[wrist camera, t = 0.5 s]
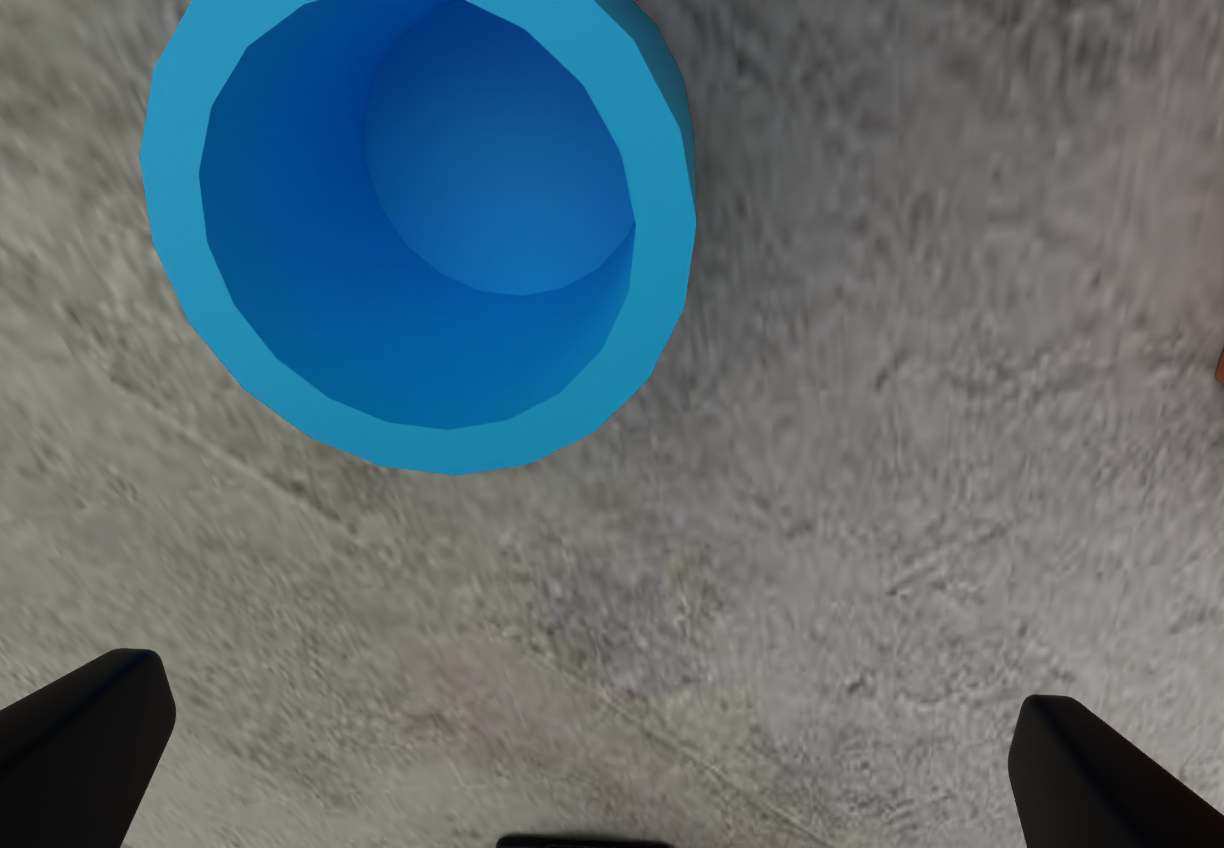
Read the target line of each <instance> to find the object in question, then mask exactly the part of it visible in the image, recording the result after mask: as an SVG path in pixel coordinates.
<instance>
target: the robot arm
mask: <svg viewBox="0 0 1224 848" xmlns="http://www.w3.org/2000/svg"><path fill="white" fill-rule="evenodd" d="M175 719H176V706H175V702H174V699H173V696H172V692H171V689H170V686H169V683H168V680H167V676H166V673H165V670H164V667H163V663H162V660H161V658H160V656H159V655H158V654H157V653H156V652H155V651H152V650H148V649H130V648H120V649H114V650H111V651H109V652H107V653H105V654H104V655H102V656H100V657H98V658H96V659H94V660H93V661H91V662H89V663H87V664H85V665H83V666H82V667H80V668H78V669H76V670H74V671H72V672H71V673H69V674H67V675H65V676H63V677H61V678H60V679H58V680H56V681H54V682H52V683H50V684H48V685H47V686H45V687H43V688H41V689H39V690H37V691H36V692H34V693H32V694H30V695H28V696H26V697H25V698H23V699H21V700H19V701H17V702H15V703H14V704H12V705H10V706H8V707H6V708H4V709H2V710H1V711H0V848H120V846H121V844H122V842H123V840H124V838H125V835H126V833H127V831H128V829H129V826H130V824H131V822H132V820H133V818H134V815H135V813H136V811H137V809H138V807H139V804H140V802H141V800H142V798H143V795H144V793H145V791H146V789H147V787H148V784H149V782H150V780H151V778H152V776H153V773H154V771H155V769H156V767H157V764H158V762H159V760H160V758H161V756H162V753H163V751H164V749H165V747H166V745H167V742H168V740H169V738H170V736H171V733H172V731H173V728H174V724H175ZM1008 771H1009V778H1010V782H1011V786H1012V790H1013V794H1014V798H1015V802H1016V806H1017V810H1018V814H1019V817H1020V821H1021V825H1022V829H1023V833H1024V837H1025V841H1026V845H1027V848H1224V815H1222V814H1221V813H1220V812H1219V811H1217V810H1216V809H1215V808H1213V807H1212V806H1211V805H1210V804H1208V803H1207V802H1206V801H1204V800H1203V799H1202V798H1201V797H1199V796H1198V795H1197V794H1196V793H1194V792H1193V791H1192V790H1190V789H1189V788H1188V787H1187V786H1185V785H1184V784H1183V783H1182V782H1180V781H1179V780H1178V779H1176V778H1175V777H1174V776H1173V775H1171V774H1170V773H1169V772H1168V771H1166V770H1165V769H1164V768H1162V767H1161V766H1160V765H1159V764H1157V763H1156V762H1155V761H1154V760H1152V759H1151V758H1150V757H1148V756H1147V755H1146V754H1145V753H1143V752H1142V751H1141V750H1140V749H1138V748H1137V747H1136V746H1134V745H1133V744H1132V743H1131V742H1129V741H1128V740H1127V739H1126V738H1124V737H1123V736H1122V735H1120V734H1119V733H1118V732H1117V731H1115V730H1114V729H1113V728H1112V727H1110V726H1109V725H1108V724H1106V723H1105V722H1104V721H1103V720H1101V719H1100V718H1099V717H1098V716H1096V715H1095V714H1094V713H1092V712H1091V711H1090V710H1089V709H1087V708H1086V707H1085V706H1083V705H1082V704H1081V703H1080V702H1078V701H1077V700H1075V699H1073V698H1071V697H1067V696H1056V695H1037V694H1035V695H1030V696H1028V697H1027V698H1026V699H1025V700H1024V702H1023V704H1022V707H1021V710H1020V714H1019V717H1018V721H1017V725H1016V728H1015V732H1014V736H1013V740H1012V743H1011V747H1010V751H1009V756H1008ZM496 848H669V847H667V846H662V845H647V844H628V843H610V842H591V841H573V840H554V839H535V838H517V837H504V838H501V839H499V841H498V842H497V845H496Z"/></svg>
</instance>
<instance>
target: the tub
mask: <svg viewBox="0 0 1224 848" xmlns="http://www.w3.org/2000/svg"><path fill="white" fill-rule="evenodd" d="M1215 378H1216V379H1218V380H1219V381H1220V382H1222V383H1223V384H1224V350H1223V353H1222V357H1221V360H1220V363H1219V366H1218V369H1217V372H1216V375H1215Z"/></svg>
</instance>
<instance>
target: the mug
mask: <svg viewBox="0 0 1224 848" xmlns="http://www.w3.org/2000/svg"><path fill="white" fill-rule="evenodd" d="M140 162H141V169H142V175H143V182H144V188H145V194H146V201H147V207H148V214H149V220H150V227H151V233H152V239H153V245H154V247H155V249H156V251H157V254H158V256H159V258H160V260H161V262H162V264H163V267H164V269H165V271H166V273H167V275H168V277H169V280H170V282H171V284H172V286H173V288H174V291H175V293H176V295H177V297H178V299H179V301H180V304H181V306H182V308H183V310H184V312H185V314H186V317H187V319H188V321H189V323H190V324H191V326H192V327H193V328H194V329H195V330H196V332H197V333H198V334H199V335H200V336H201V338H202V339H203V340H204V341H205V343H206V344H207V345H208V346H209V347H210V349H211V350H212V351H213V352H214V354H215V355H216V356H217V357H218V358H219V360H220V361H221V362H222V363H223V364H224V366H225V367H226V368H227V369H228V371H229V372H230V373H231V374H232V375H233V377H234V378H235V379H236V380H237V382H238V383H239V384H240V385H241V386H242V388H243V389H245V390H246V391H247V392H249V393H250V394H251V395H253V396H254V397H256V398H257V399H258V400H260V401H261V402H262V403H264V404H265V405H266V406H268V407H269V408H270V409H272V410H273V411H275V412H276V413H277V414H279V415H280V416H281V417H283V418H284V419H285V420H287V421H288V422H289V423H291V424H292V425H293V426H295V427H296V428H298V429H299V430H300V431H302V432H303V433H304V434H306V435H307V436H308V437H311V438H313V439H316V440H318V441H321V442H323V443H325V444H328V445H330V446H333V447H335V448H338V449H340V450H343V451H345V452H348V453H350V454H352V455H355V456H357V457H360V458H362V459H365V460H367V461H370V462H372V463H375V464H377V465H379V466H384V467H392V468H400V469H408V470H416V471H424V472H432V473H439V474H447V475H455V476H456V475H463V474H469V473H476V472H482V471H489V470H495V469H501V468H508V467H514V466H521V465H527V464H530V463H532V462H534V461H536V460H538V459H540V458H542V457H545V456H547V455H549V454H551V453H553V452H555V451H557V450H559V449H561V448H563V447H565V446H567V445H569V444H571V443H573V442H575V441H577V440H579V439H581V438H583V437H585V436H587V435H590V434H592V433H594V432H595V431H596V430H597V429H598V428H599V427H600V426H601V425H602V424H603V423H604V422H605V421H606V420H607V419H608V418H609V417H610V416H611V415H612V414H613V413H614V412H616V411H617V410H618V409H619V408H620V407H621V406H622V405H623V404H624V403H625V402H626V401H627V400H628V399H629V398H630V397H631V396H632V395H633V394H634V393H635V392H636V391H637V390H638V389H639V388H640V387H641V386H642V385H643V384H644V383H645V382H646V381H647V380H648V379H649V377H650V375H651V373H652V371H653V369H654V367H655V365H656V363H657V361H658V359H659V357H660V355H661V353H662V351H663V349H664V347H665V345H666V343H667V341H668V339H669V337H670V336H671V334H672V332H673V330H674V328H675V326H676V324H677V322H678V320H679V318H680V316H681V314H682V312H683V310H684V307H685V300H686V293H687V286H688V279H689V272H690V265H691V258H692V251H693V244H694V237H695V230H696V223H697V219H696V193H695V166H694V139H693V132H692V126H691V121H690V115H689V109H688V103H687V97H686V91H685V85H684V79H683V77H682V75H681V73H680V71H679V69H678V67H677V65H676V63H675V61H674V59H673V57H672V55H671V53H670V52H669V50H668V48H667V46H666V44H665V42H664V40H663V38H662V36H661V34H660V32H659V30H658V28H657V26H656V24H655V23H654V22H653V21H652V20H651V19H650V18H649V17H648V16H647V15H646V14H645V13H644V12H643V11H642V10H641V9H640V8H639V7H638V6H637V5H636V4H635V3H634V2H633V1H632V0H192V2H191V4H190V5H189V7H188V9H187V11H186V13H185V14H184V16H183V18H182V20H181V21H180V23H179V25H178V27H177V29H176V30H175V32H174V34H173V36H172V38H171V39H170V41H169V43H168V45H167V47H166V48H165V50H164V52H163V54H162V55H161V57H160V59H159V61H158V63H157V64H156V66H155V68H154V70H153V77H152V83H151V89H150V96H149V102H148V108H147V115H146V121H145V127H144V134H143V140H142V146H141V153H140Z"/></svg>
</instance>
